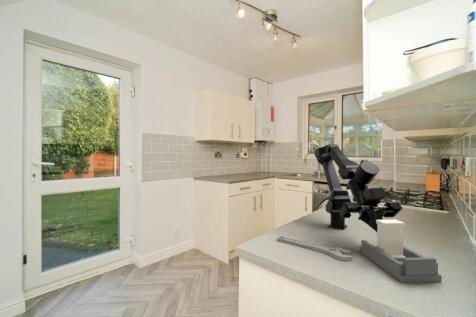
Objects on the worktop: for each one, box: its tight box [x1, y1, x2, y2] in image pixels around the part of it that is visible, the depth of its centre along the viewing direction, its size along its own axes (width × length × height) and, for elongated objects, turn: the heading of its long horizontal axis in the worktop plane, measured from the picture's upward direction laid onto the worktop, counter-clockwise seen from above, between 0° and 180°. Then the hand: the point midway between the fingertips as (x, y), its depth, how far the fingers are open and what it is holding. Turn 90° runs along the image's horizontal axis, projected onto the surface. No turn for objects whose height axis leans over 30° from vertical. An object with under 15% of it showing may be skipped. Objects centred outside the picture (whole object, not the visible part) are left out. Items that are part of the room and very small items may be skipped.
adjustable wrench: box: [277, 235, 353, 262], centre depth 77 cm, size 25×6×2 cm, turn 46°
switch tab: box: [376, 218, 406, 259], centre depth 67 cm, size 5×6×10 cm
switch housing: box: [358, 239, 443, 284], centre depth 65 cm, size 18×10×6 cm, turn 2°
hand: (381, 233), depth 70 cm, fingers closed
